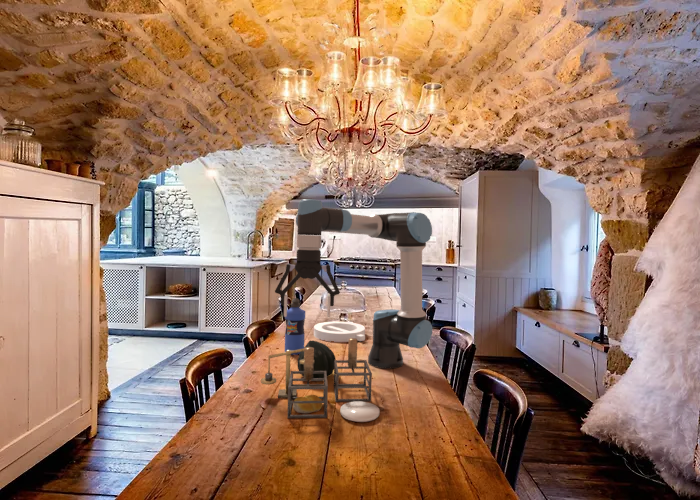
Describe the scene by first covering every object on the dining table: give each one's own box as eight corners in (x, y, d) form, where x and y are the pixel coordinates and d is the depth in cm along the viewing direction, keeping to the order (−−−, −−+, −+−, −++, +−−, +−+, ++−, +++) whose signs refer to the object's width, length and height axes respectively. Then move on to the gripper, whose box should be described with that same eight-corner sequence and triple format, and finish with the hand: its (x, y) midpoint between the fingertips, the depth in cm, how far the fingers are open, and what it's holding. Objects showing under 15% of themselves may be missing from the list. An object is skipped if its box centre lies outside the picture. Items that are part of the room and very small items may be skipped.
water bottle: (298, 356, 175) (300, 300, 174) (280, 353, 178) (281, 299, 177) (307, 350, 184) (309, 297, 183) (290, 348, 187) (291, 296, 186)
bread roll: (326, 410, 122) (326, 397, 122) (300, 416, 117) (301, 403, 117) (314, 400, 129) (314, 388, 129) (289, 406, 124) (289, 394, 124)
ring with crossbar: (365, 343, 200) (365, 334, 200) (310, 341, 200) (311, 332, 200) (364, 330, 228) (364, 322, 228) (316, 328, 228) (316, 320, 228)
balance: (313, 391, 136) (314, 345, 135) (313, 397, 131) (314, 349, 130) (261, 392, 134) (262, 345, 133) (259, 398, 129) (260, 349, 128)
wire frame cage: (325, 398, 130) (327, 342, 130) (327, 417, 117) (328, 355, 116) (290, 398, 129) (291, 342, 128) (287, 418, 115) (288, 355, 115)
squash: (348, 361, 152) (326, 330, 156) (330, 375, 139) (306, 340, 142) (324, 380, 158) (303, 349, 161) (304, 394, 144) (282, 360, 147)
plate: (375, 405, 126) (376, 401, 126) (382, 423, 114) (382, 418, 114) (338, 406, 125) (339, 401, 125) (341, 424, 113) (341, 419, 113)
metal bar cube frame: (365, 385, 143) (367, 334, 142) (371, 401, 129) (372, 344, 128) (333, 385, 142) (334, 334, 141) (335, 401, 128) (337, 344, 127)
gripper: (347, 249, 127) (345, 314, 128) (270, 247, 125) (268, 313, 126) (349, 250, 120) (347, 318, 121) (267, 248, 117) (265, 318, 118)
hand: (307, 316), depth 123 cm, fingers open, 13 cm apart
